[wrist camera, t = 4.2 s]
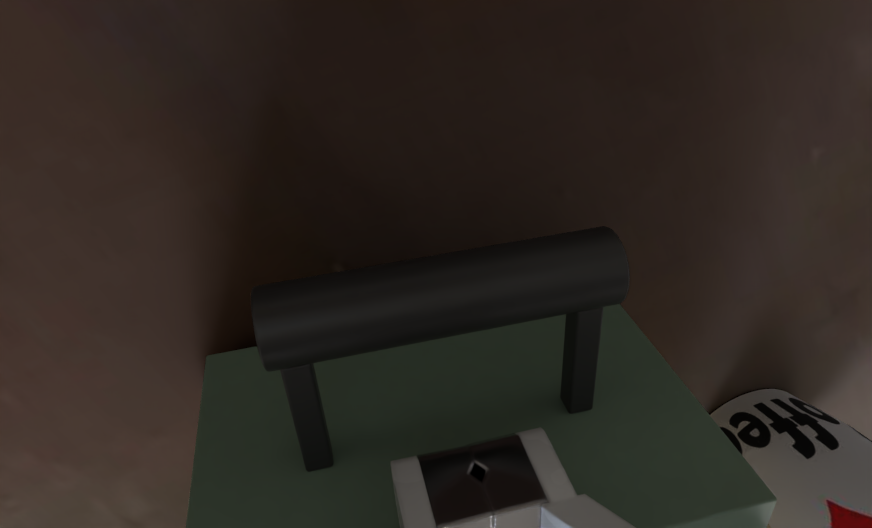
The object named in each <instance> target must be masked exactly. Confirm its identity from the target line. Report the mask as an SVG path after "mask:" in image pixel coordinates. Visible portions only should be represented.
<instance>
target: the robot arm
mask: <svg viewBox="0 0 872 528" xmlns="http://www.w3.org/2000/svg"><path fill="white" fill-rule="evenodd" d="M390 465H391V472H392V479H393V486H394V493H395V500H396V506H397V512H398V518H399V524H400V528H636V527H634V526H633V525H631V524H630V523H628V522H627V521H625V520H624V519H622V518H621V517H619V516H618V515H616V514H615V513H613V512H612V511H610V510H609V509H607V508H605V507H604V506H602V505H601V504H599V503H598V502H596V501H595V500H593V499H592V498H590V497H589V496H587V495H586V494H582V495H577V494H576V492H575V490H574V488H573V486H572V484H571V482H570V480H569V478H568V476H567V474H566V472H565V470H564V468H563V466H562V464H561V462H560V460H559V458H558V456H557V454H556V452H555V450H554V448H553V446H552V444H551V442H550V440H549V439H548V437H547V435H546V433H545V431H544V430H543V429H542V428H541V427H540V428H536V429H531V430H527V431H523V432H518V433H516V434H515V433H511V434H507V435H503V436H499V437H495V438H491V439H487V440H483V441H478V442H474V443H470V444H466V446H461V447H456V448H451V449H446V450H441V451H436V452H431V453H426V454H421V455H417V456H412V457H407V458H403V459H398V460H393V461H391V463H390Z"/></svg>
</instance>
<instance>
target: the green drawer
mask: <svg viewBox="0 0 872 528" xmlns="http://www.w3.org/2000/svg"><path fill="white" fill-rule="evenodd" d="M628 289H629V266H628V260H627V256H626V253H625V250H624V247H623V245H622V243H621V241H620V239H619V237H618V236H617V234H616V233H615V232H614V231H613V230H612V229H610V228H608V227H605V226H602V227H596V228H590V229H584V230H579V231H573V232H567V233H561V234H555V235H550V236H544V237H538V238H532V239H526V240H521V241H515V242H509V243H503V244H497V245H491V246H486V247H480V248H474V249H468V250H462V251H457V252H451V253H445V254H439V255H433V256H428V257H422V258H416V259H410V260H404V261H399V262H393V263H387V264H381V265H375V266H370V267H364V268H358V269H352V270H346V271H340V272H335V273H329V274H323V275H317V276H311V277H306V278H300V279H294V280H288V281H282V282H277V283H271V284H265V285H259V286H255V287H253V288H252V291H251V311H252V320H253V327H254V333H255V339H256V343H257V346H256V347H250V348H245V349H240V350H234V351H229V352H223V353H218V354H213V355H208V356H206V363H205V371H204V380H203V388H202V397H201V405H200V413H199V422H198V430H197V438H196V447H195V455H194V463H193V472H192V480H191V489H190V497H189V505H188V514H187V522H186V528H400V524H399V518H398V512H397V506H396V500H395V493H394V486H393V479H392V472H391V465H390V463H391V461H393V460H398V459H403V458H407V457H412V456H417V455H421V454H426V453H431V452H436V451H441V450H446V449H451V448H456V447H461V446H466V444H470V443H474V442H478V441H483V440H487V439H491V438H495V437H499V436H503V435H507V434H511V433H515V434H516V433H518V432H523V431H527V430H531V429H536V428H540V427H541V428H542V429H543V430H544V431H545V433H546V435H547V437H548V439H549V440H550V442H551V444H552V446H553V448H554V450H555V452H556V454H557V456H558V458H559V460H560V462H561V464H562V466H563V468H564V470H565V472H566V474H567V476H568V478H569V480H570V482H571V484H572V486H573V488H574V490H575V492H576V494H577V495H582V494H586V495H587V496H589V497H590V498H592V499H593V500H595V501H596V502H598V503H599V504H601V505H602V506H604V507H605V508H607V509H609V510H610V511H612V512H613V513H615V514H616V515H618V516H619V517H621V518H622V519H624V520H625V521H627V522H628V523H630V524H631V525H633V526H634V527H636V528H767V525H768V523H769V520H770V517H771V515H772V512H773V510H774V507H775V504H776V502H777V498H776V497H775V495H774V494H773V493H772V492H771V490H770V489H769V488H768V487H767V485H766V484H765V483H764V482H763V481H762V479H761V478H760V477H759V476H758V474H757V473H756V472H755V471H754V469H753V468H752V467H751V466H750V464H749V463H748V462H747V461H746V459H745V458H744V457H743V456H742V455H741V453H740V452H739V451H738V450H737V448H736V447H735V446H734V445H733V443H732V442H731V441H730V440H729V438H728V437H727V436H726V435H725V434H724V432H723V431H722V430H721V429H720V427H719V426H718V425H717V424H716V422H715V421H714V420H713V419H712V417H711V416H710V415H709V414H708V413H707V411H706V410H705V409H704V408H703V406H702V405H701V404H700V403H699V401H698V400H697V399H696V398H695V396H694V395H693V394H692V393H691V392H690V390H689V389H688V388H687V387H686V385H685V384H684V383H683V382H682V380H681V379H680V378H679V377H678V375H677V374H676V373H675V372H674V371H673V369H672V368H671V367H670V366H669V364H668V363H667V362H666V361H665V359H664V358H663V357H662V356H661V354H660V353H659V352H658V351H657V349H656V348H655V347H654V346H653V345H652V343H651V342H650V341H649V340H648V338H647V337H646V336H645V335H644V333H643V332H642V331H641V330H640V328H639V327H638V326H637V325H636V324H635V322H634V321H633V320H632V319H631V317H630V316H629V315H628V314H627V312H626V311H625V310H624V309H623V307H622V306H621V305H620V304H619V303H621V302H622V301H623V300H624V299H625V298H626V296H627V293H628Z"/></svg>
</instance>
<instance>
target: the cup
mask: <svg viewBox="0 0 872 528" xmlns="http://www.w3.org/2000/svg"><path fill="white" fill-rule="evenodd" d="M710 416H711V417H712V419H713V420H714V421H715V422H716V424H717V425H718V426H719V427H720V429H721V430H722V431H723V432H724V434H725V435H726V436H727V437H728V438H729V440H730V441H731V442H732V443H733V445H734V446H735V447H736V448H737V450H738V451H739V452H740V453H741V455H742V456H743V457H744V458H745V459H746V461H747V462H748V463H749V464H750V466H751V467H752V468H753V469H754V471H755V472H756V473H757V474H758V476H759V477H760V478H761V479H762V481H763V482H764V483H765V484H766V485H767V487H768V488H769V489H770V490H771V492H772V493H773V494H774V495H775V497H776V498H777V502H776V504H775V507H774V510H773V512H772V515H771V517H770V520H769V523H768V524H769V525H770V527H771V528H872V441H871V440H869V439H868V438H867V437H865V436H864V435H862V434H861V433H859V432H858V431H857V430H855V429H854V428H852V427H851V426H849V425H847V424H845V423H844V422H842V421H840V420H838V419H836V418H834V417H832V416H831V415H829V414H827V413H825V412H823V411H821V410H819V409H817V408H816V407H814V406H812V405H810V404H808V403H806V402H804V401H803V400H801V399H799V398H797V397H795V396H793V395H791V394H789V393H788V392H785V391H783V390H778V389H763V390H757V391H753V392H750V393H747V394H744V395H741V396H739V397H737V398H735V399H733V400H731V401H729V402H727V403H726V404H724V405H722V406H721V407H719V408H718V409H717V410H715V411H714V412H713V413H712V414H711V415H710Z"/></svg>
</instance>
